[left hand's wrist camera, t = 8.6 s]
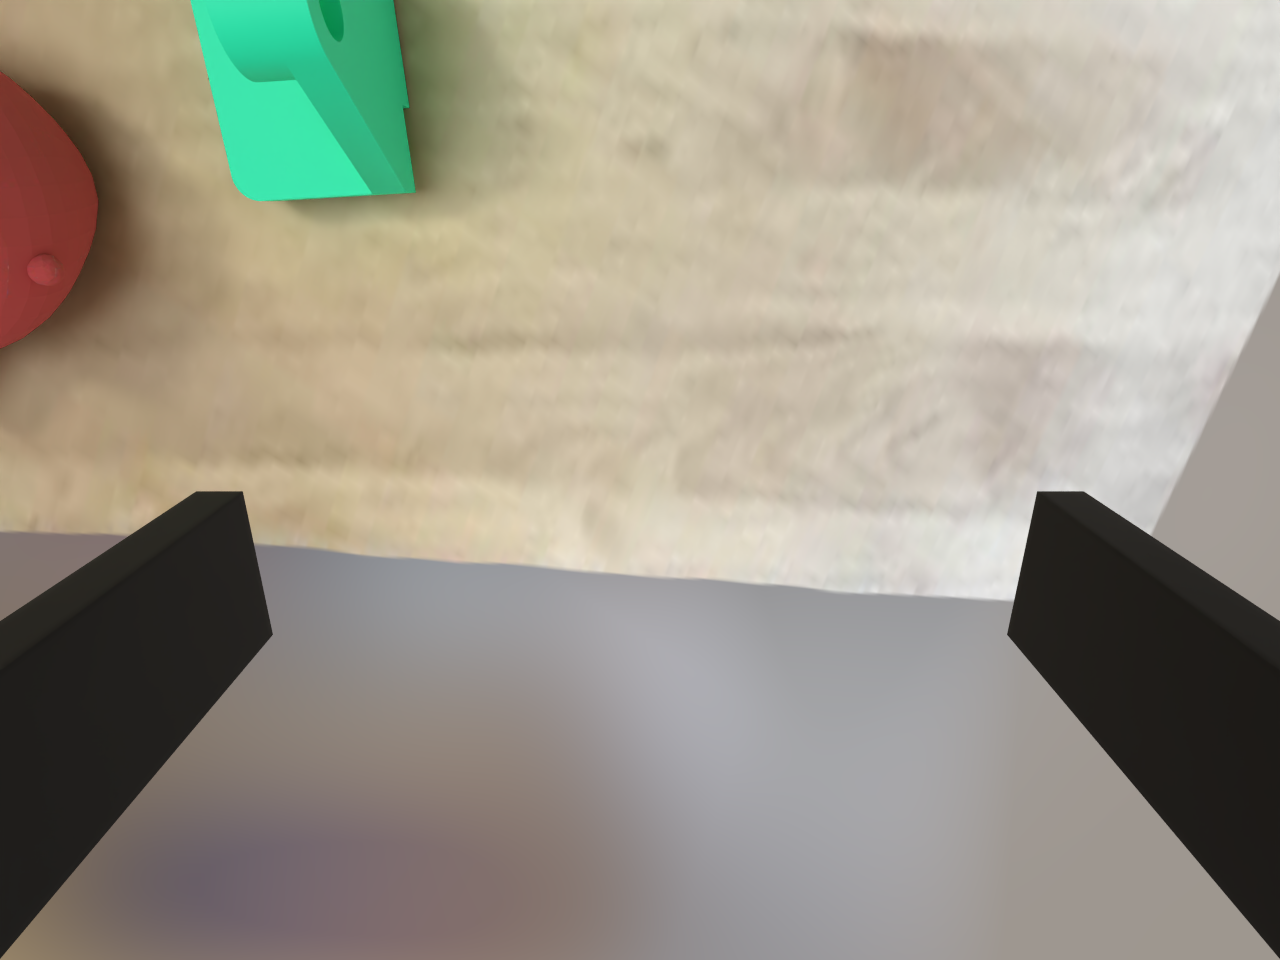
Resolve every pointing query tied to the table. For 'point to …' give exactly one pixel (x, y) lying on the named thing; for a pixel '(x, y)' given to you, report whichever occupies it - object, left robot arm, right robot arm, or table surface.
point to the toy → (39, 213)
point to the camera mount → (308, 96)
